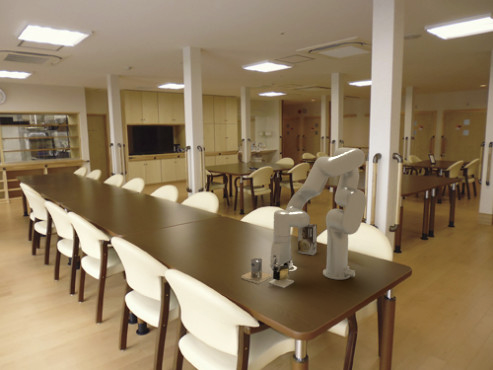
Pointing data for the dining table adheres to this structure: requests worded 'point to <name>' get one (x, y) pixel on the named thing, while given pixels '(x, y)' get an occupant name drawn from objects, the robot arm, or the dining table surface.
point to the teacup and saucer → (292, 266)
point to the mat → (281, 282)
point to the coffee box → (307, 239)
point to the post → (256, 272)
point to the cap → (283, 272)
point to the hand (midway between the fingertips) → (281, 276)
